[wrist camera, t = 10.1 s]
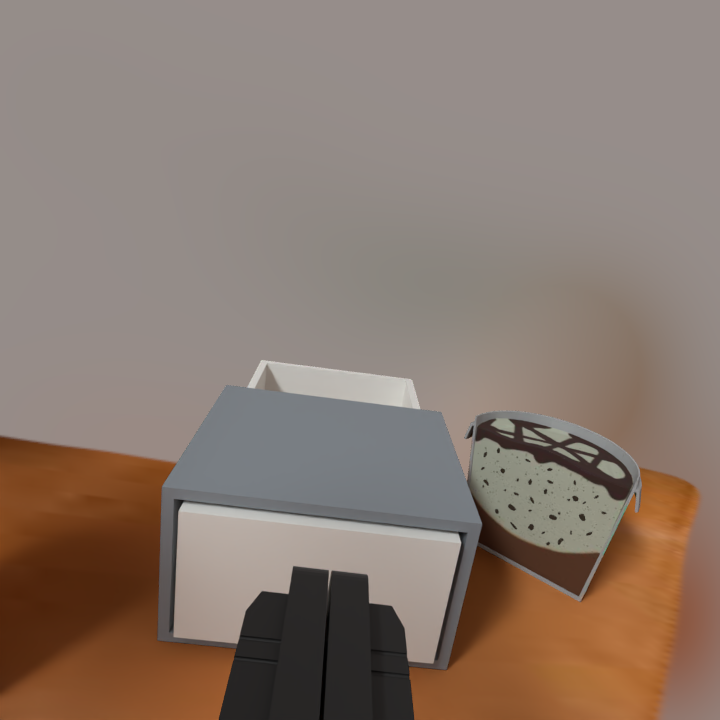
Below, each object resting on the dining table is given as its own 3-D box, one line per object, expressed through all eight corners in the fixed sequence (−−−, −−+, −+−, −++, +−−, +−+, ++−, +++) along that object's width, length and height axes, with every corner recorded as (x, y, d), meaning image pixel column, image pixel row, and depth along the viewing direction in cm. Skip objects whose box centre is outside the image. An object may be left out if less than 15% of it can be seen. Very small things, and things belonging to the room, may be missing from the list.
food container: (625, 572, 41) (666, 454, 38) (602, 614, 36) (647, 484, 33) (479, 500, 48) (504, 395, 45) (444, 527, 43) (469, 413, 40)
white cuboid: (433, 663, 30) (461, 543, 27) (173, 637, 29) (178, 511, 26) (399, 450, 53) (412, 375, 51) (255, 432, 52) (261, 355, 50)
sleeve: (446, 670, 30) (482, 524, 27) (157, 640, 30) (161, 486, 27) (419, 521, 44) (441, 412, 41) (219, 498, 43) (226, 384, 40)
